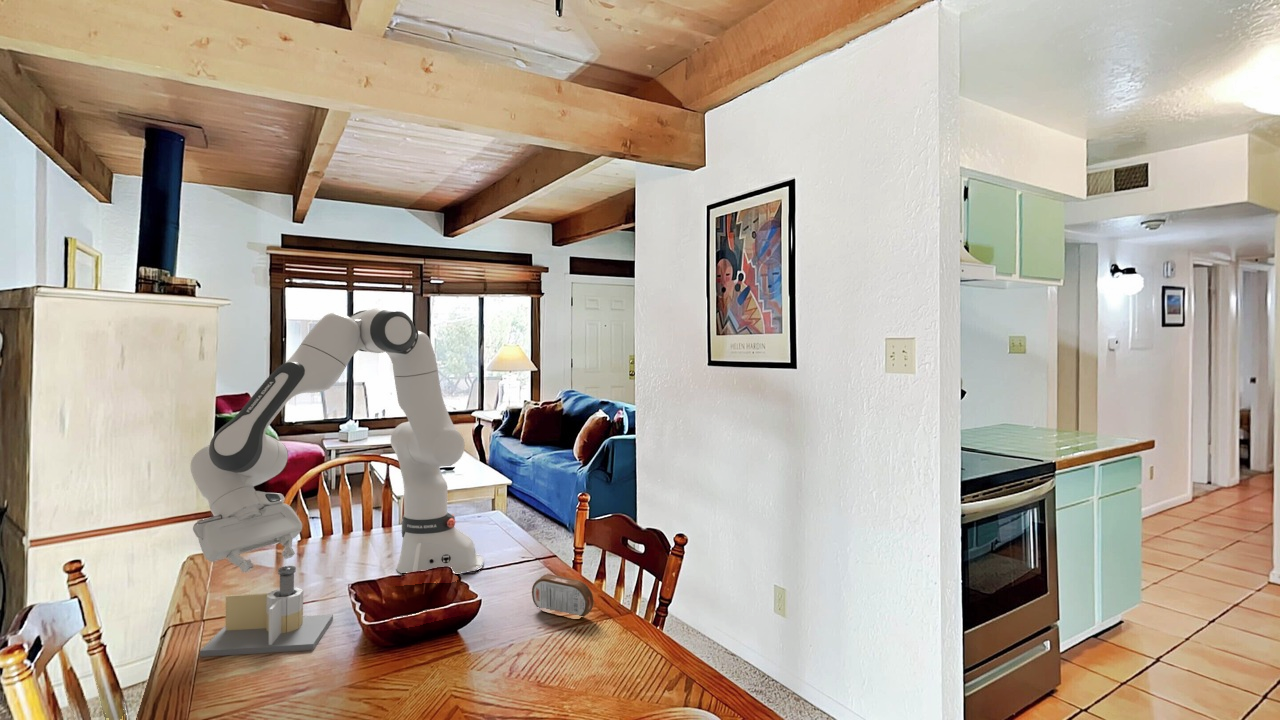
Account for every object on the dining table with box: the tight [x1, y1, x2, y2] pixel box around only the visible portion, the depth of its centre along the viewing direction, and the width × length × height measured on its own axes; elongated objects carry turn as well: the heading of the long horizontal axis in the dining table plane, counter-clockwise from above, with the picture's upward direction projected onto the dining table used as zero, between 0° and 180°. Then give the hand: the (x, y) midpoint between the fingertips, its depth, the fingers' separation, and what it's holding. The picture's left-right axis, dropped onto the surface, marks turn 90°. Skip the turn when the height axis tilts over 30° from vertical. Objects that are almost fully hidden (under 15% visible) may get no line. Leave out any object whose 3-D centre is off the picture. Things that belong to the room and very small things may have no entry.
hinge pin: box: [277, 565, 297, 597], centre depth 135 cm, size 3×3×12 cm
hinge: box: [199, 586, 334, 658], centre depth 132 cm, size 20×14×8 cm
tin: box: [531, 573, 594, 617], centre depth 146 cm, size 15×3×8 cm, turn 65°
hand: (270, 563), depth 136 cm, fingers open, 8 cm apart
